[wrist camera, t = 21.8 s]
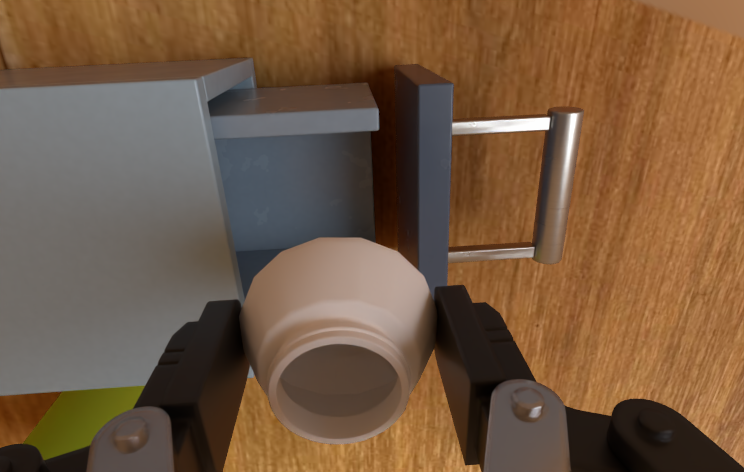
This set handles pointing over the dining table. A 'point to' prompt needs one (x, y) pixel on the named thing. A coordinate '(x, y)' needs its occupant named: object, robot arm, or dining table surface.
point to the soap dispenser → (79, 418)
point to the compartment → (370, 170)
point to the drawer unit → (109, 218)
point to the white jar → (338, 337)
